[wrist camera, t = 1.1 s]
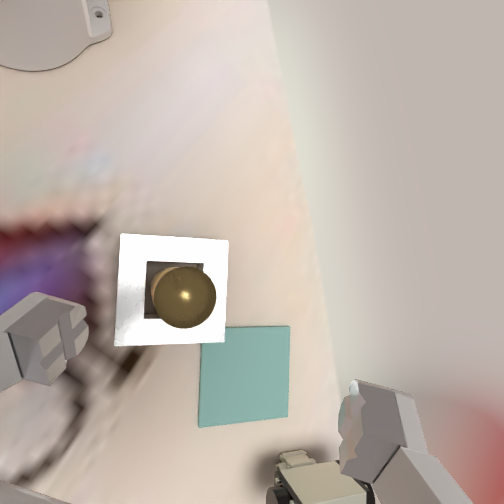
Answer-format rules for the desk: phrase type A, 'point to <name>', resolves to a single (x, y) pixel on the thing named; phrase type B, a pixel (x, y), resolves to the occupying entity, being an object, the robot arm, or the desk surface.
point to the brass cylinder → (183, 296)
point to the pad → (245, 376)
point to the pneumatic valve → (315, 483)
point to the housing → (133, 289)
